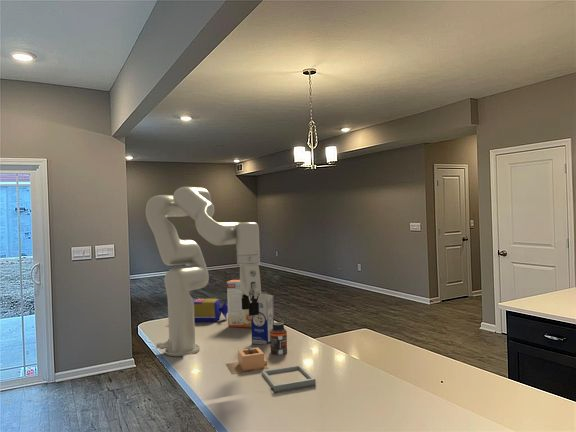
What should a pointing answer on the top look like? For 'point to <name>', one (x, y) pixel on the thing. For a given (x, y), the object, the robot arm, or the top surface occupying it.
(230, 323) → the cracker box
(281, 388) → the tray
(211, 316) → the bread
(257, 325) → the milk carton
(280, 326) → the supplement bottle
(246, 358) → the ring
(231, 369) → the brown board with hook
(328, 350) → the top surface
